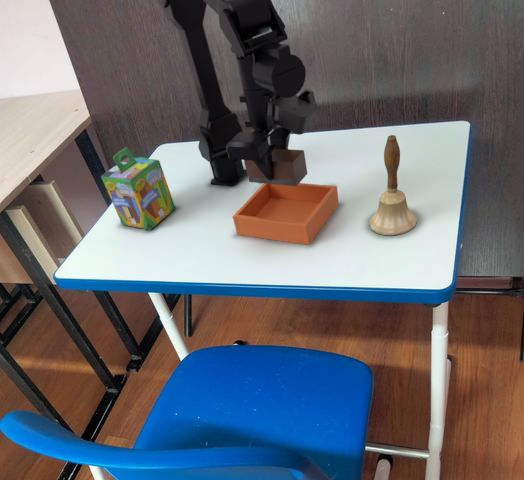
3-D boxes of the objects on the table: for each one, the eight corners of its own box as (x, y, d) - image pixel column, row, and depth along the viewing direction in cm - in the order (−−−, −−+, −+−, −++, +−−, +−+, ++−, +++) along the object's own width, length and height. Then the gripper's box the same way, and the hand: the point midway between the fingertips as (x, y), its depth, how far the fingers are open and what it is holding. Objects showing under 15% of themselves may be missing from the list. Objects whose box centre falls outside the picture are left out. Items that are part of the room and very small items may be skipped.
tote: (237, 234, 103) (232, 216, 100) (270, 198, 110) (266, 180, 107) (308, 245, 95) (305, 225, 93) (339, 205, 103) (336, 185, 100)
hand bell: (419, 210, 96) (420, 123, 85) (413, 236, 91) (413, 147, 80) (374, 210, 99) (369, 126, 88) (365, 235, 94) (359, 149, 83)
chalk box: (151, 231, 110) (124, 165, 100) (120, 225, 115) (91, 161, 105) (177, 208, 115) (154, 142, 105) (147, 203, 120) (122, 139, 110)
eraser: (249, 182, 98) (243, 159, 95) (260, 170, 101) (255, 147, 97) (296, 186, 93) (292, 162, 90) (307, 173, 96) (303, 150, 93)
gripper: (275, 109, 77) (292, 204, 87) (328, 60, 87) (338, 150, 98) (213, 108, 82) (236, 198, 93) (270, 62, 92) (285, 148, 103)
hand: (276, 173), depth 96 cm, fingers closed on eraser, 4 cm apart
